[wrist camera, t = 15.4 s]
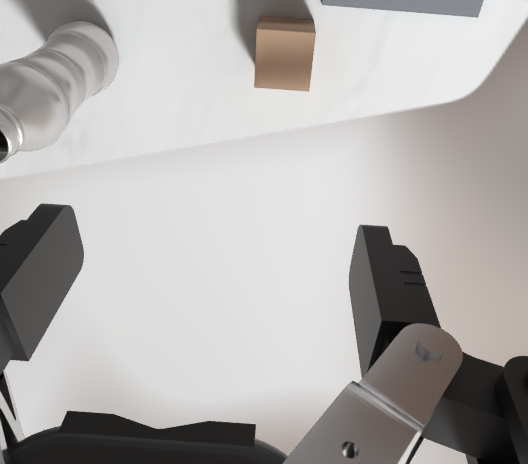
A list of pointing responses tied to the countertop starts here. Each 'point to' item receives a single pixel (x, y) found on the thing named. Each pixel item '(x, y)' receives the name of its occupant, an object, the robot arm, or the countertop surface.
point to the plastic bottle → (53, 85)
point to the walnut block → (284, 53)
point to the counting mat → (416, 6)
